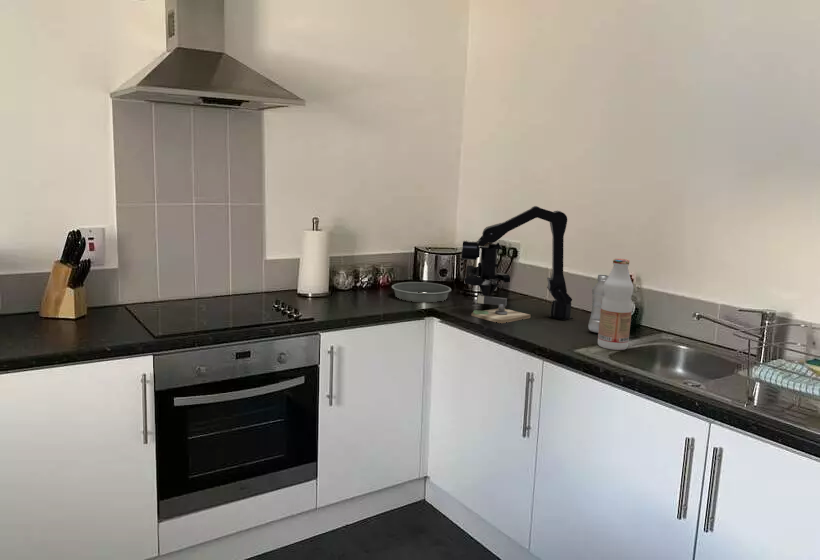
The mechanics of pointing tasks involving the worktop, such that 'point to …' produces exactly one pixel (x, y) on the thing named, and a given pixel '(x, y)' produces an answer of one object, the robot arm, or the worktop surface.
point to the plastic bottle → (597, 303)
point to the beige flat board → (500, 315)
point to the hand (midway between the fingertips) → (486, 301)
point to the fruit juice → (616, 308)
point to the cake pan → (411, 290)
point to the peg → (493, 301)
